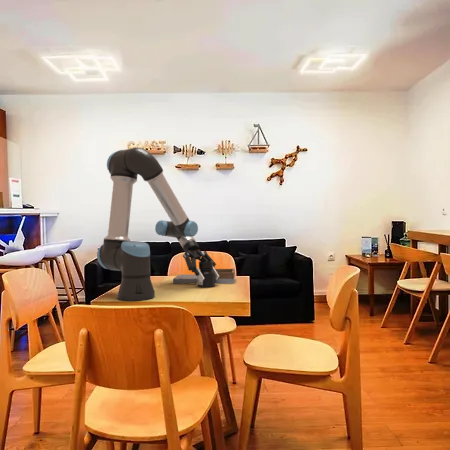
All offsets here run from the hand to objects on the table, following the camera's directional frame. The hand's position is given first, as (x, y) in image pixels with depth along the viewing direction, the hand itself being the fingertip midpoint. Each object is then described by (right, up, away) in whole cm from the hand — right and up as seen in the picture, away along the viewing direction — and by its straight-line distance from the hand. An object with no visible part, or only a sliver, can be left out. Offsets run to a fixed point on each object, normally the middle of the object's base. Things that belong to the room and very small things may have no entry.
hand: (210, 279), depth 185 cm
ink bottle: (-2, -4, +2) cm, 5 cm away
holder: (+5, -1, +18) cm, 18 cm away
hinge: (-3, -4, +18) cm, 19 cm away
